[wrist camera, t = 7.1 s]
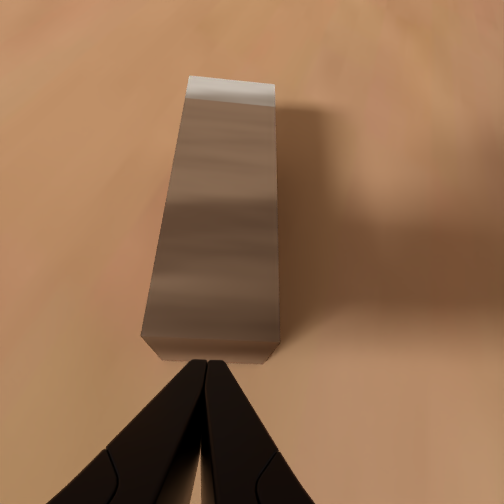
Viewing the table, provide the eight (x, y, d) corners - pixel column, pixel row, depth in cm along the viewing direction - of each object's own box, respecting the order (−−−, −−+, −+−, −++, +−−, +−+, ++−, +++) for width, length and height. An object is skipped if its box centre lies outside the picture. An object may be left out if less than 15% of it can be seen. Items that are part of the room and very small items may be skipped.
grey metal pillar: (280, 341, 12) (274, 84, 19) (140, 336, 11) (189, 75, 18) (262, 364, 16) (263, 148, 23) (162, 360, 16) (194, 142, 23)
